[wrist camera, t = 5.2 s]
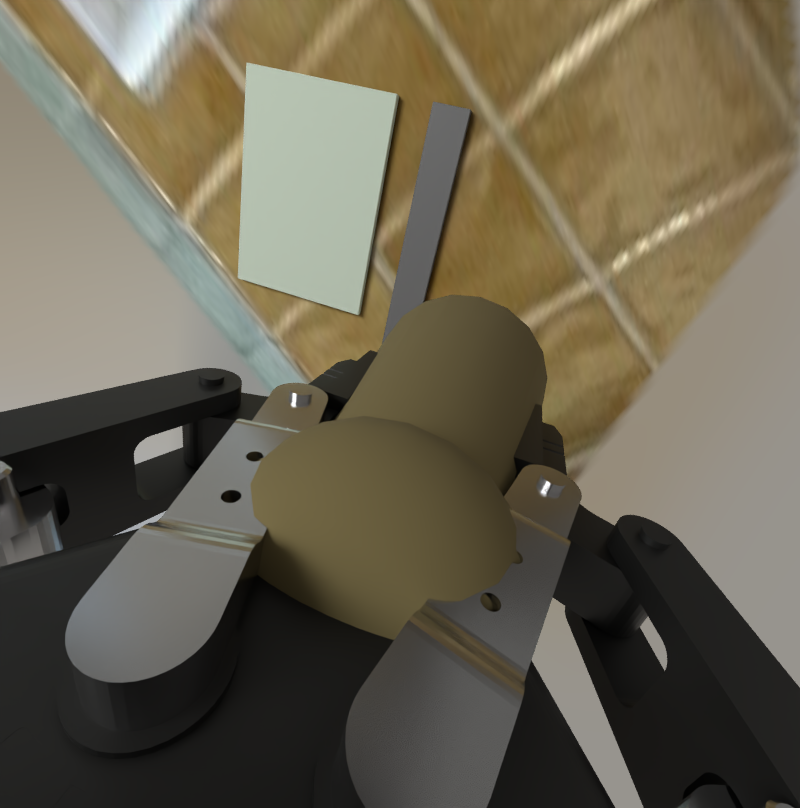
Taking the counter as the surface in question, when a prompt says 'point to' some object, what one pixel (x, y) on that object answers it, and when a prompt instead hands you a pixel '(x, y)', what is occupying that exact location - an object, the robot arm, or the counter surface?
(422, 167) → the charcoal line
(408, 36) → the counter surface
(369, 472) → the cork
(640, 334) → the counter surface
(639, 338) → the counter surface
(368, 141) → the mat
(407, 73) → the counter surface
